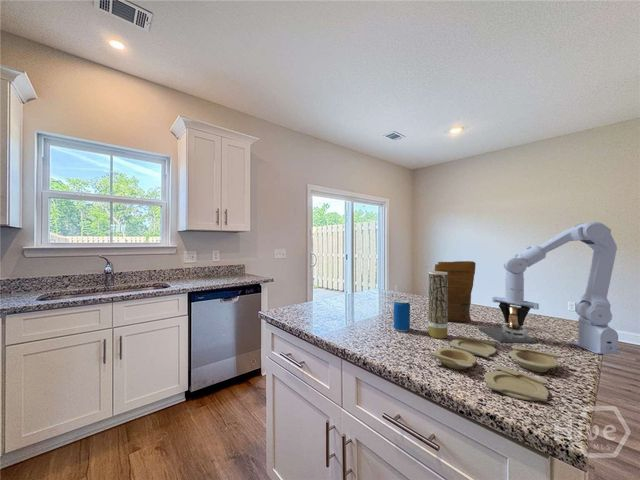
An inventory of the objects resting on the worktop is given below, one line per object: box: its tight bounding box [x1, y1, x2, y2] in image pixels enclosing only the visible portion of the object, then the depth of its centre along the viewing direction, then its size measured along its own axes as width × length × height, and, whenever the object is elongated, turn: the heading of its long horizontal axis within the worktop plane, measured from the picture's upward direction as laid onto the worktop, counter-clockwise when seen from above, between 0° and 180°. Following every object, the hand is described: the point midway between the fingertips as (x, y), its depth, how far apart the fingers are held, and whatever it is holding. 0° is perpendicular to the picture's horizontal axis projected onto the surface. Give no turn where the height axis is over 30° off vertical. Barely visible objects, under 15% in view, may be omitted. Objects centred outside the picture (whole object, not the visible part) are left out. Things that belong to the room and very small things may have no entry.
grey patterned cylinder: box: [427, 270, 448, 339], centre depth 104 cm, size 7×7×25 cm
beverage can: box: [393, 299, 411, 333], centre depth 111 cm, size 6×6×12 cm
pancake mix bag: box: [433, 260, 477, 323], centre depth 124 cm, size 7×19×28 cm, turn 84°
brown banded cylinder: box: [507, 305, 522, 330], centre depth 103 cm, size 4×4×9 cm
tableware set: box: [427, 335, 562, 402], centre depth 81 cm, size 35×29×4 cm
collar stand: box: [477, 323, 537, 344], centre depth 105 cm, size 14×13×4 cm
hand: (514, 324), depth 103 cm, fingers closed on brown banded cylinder, 4 cm apart
